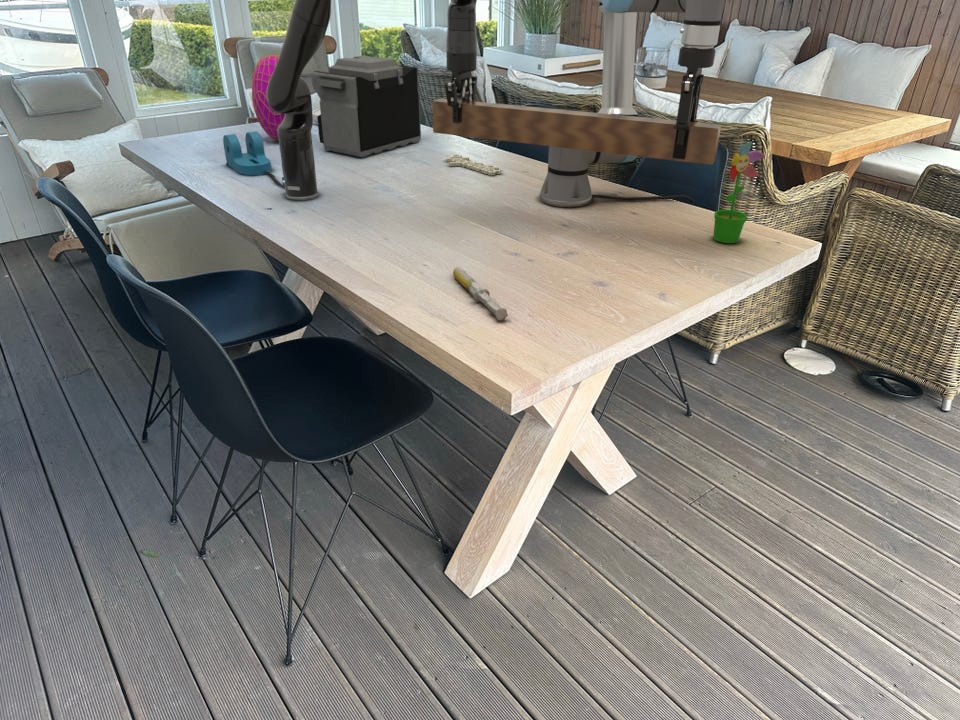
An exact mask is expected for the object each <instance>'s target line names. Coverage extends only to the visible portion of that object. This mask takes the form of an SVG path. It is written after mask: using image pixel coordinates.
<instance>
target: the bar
mask: <svg viewBox="0 0 960 720" xmlns="http://www.w3.org/2000/svg"><path fill="white" fill-rule="evenodd" d="M451 100H452V98H451ZM676 121H677V119H676V120H674V119H665V118H655V117H654V118H653V117H644V116H643V117H642V116H637V117H634V116H624V115H613V114H602V113H598V112H590V111H582V110H581V111H580V110H568V109H558V108H549V107H548V108H547V107H538V106H537V107H536V106H528V105H516V104H505V103H497V102H484V101H476V100H472V101H465V100H462V105H461V123H453V108H452V107H451V106H448V104H447V98H443V97H440V98H438V99H435V100H434V99H433V100H432V133H433V134H442V135H450V136H459V137H467V138H476V139H485V140H493V141H501V142H502V141H503V142H510V143H519V144H528V145H536V146H545V147H549V146H553V147H562V148H570V149H579V150H588V151H596V152H605V153H614V154H622V155H631V156H637V157H640V158H650V159H657V160H667V161H676V162H684V163H693V164H701V165H710V166H711V165H712V166H713V164H714V163H715V161H716V158H717V152H718V146H719V141H720V134H721V129H722V124H719V123H718V124H717V123H707V122H699V121H698V122H690V124H689V136H688V142H687V149H686V155H685V159H676V158H672V157H673V151H674V144H675V137H676V131H677V129H673V127H674V126H675V125H676ZM681 123H682V122H681Z"/></svg>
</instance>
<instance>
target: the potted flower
mask: <svg viewBox="0 0 960 720" xmlns="http://www.w3.org/2000/svg"><path fill="white" fill-rule="evenodd" d="M752 145H753V141H749V142H747V143H744V144H743V145H742V146H741V148H740V149H739V151H738V152H736V153H735V154H734V155H733V157H732V158H731V159H732V160H731V162H730V164H731V167H730V169H729V177H730V179H731V181H732V182H735V186H734V190H733V194H727V196H726V197H725V201H726V202H728V203H731V205H730V209H719V210H716V211H714V214H713V215H714V216H713V218H714V225H713V240H715V241H716V242H719V243H723V244H735V243H738V242H739V240H740V237H741V234H742V231H743V227H744V225H745V223H746V221H747V218H748V215H747V214H746V213H744V212H742V211H740V210H734V208H735V203H736V198H737V194H739V193H740V192H742V191H743V190H744V186H739V183H740V178H741V173H742V175H743V176H745V177H747V178H756V177H759V176H760V174H759V173H758V170H757V169H756V168H755V167H754V165H752V164H751V163H754V162H757V161H759V160H760V159H763V158H765V157H766V154H765V153H763V152H761V151H759V150H751V148H752Z"/></svg>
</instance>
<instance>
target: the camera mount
mask: <svg viewBox="0 0 960 720" xmlns="http://www.w3.org/2000/svg"><path fill="white" fill-rule="evenodd" d="M222 140H223V141H222V143H223V149H224V150H223V151H224V156H225V161H226V163H228V164H229V165H227V166H228V167H230V168H231V169H232V170H234V171H236V172H237V173H238V174H239V175H244V176H260V175H266V174H265V171H267V172H269V173H271V172H272V164H271V159H270V158H268V157H267V156H266V153H265V145H264V141H263V139H262V136H261V134H260V132H258V131H247V132H246V133H245V146H246V152H243V151H242V150H243V149H242V146H241V142H240V140H239V138H238V135H236V134H235V133H231V134H224V135H223V138H222Z"/></svg>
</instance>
